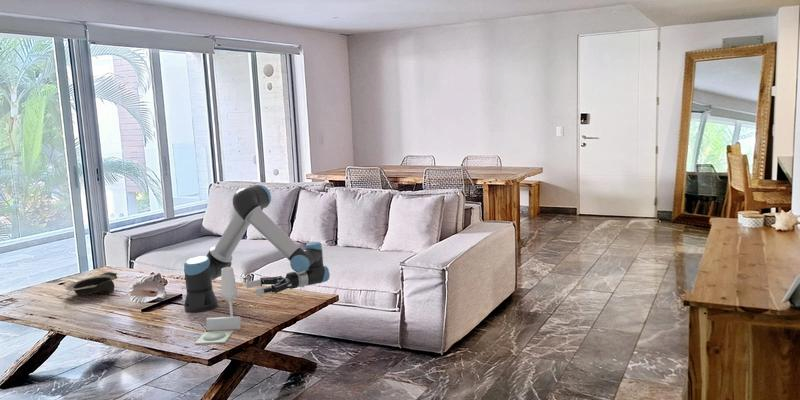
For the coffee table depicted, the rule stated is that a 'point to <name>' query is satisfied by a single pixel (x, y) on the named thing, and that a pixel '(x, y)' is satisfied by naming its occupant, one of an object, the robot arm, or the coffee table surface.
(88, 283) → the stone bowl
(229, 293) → the champagne flute
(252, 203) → the robot arm
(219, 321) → the low wall
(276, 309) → the coffee table surface
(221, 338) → the resting pad
